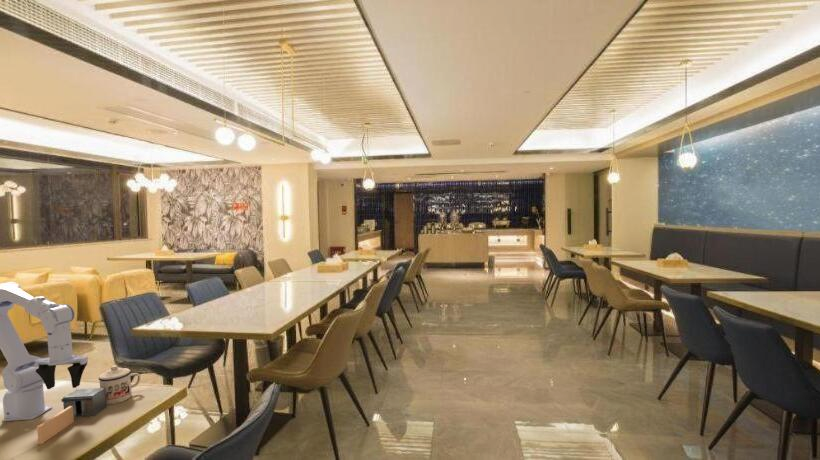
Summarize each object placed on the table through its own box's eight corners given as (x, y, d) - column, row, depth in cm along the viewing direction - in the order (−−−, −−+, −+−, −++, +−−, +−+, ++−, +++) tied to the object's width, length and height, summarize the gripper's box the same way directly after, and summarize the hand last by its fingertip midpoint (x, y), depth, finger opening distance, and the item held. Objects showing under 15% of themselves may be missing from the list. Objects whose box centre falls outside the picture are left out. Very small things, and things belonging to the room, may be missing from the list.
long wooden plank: (38, 443, 117) (36, 426, 117) (70, 422, 129) (69, 406, 129) (42, 443, 117) (40, 426, 117) (74, 421, 129) (72, 406, 129)
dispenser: (63, 418, 131) (61, 398, 131) (78, 408, 138) (76, 389, 138) (92, 417, 132) (91, 396, 131) (106, 407, 138) (105, 387, 138)
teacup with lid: (104, 408, 138) (101, 373, 137) (97, 400, 144) (94, 367, 143) (145, 394, 147) (143, 362, 146) (137, 388, 153) (135, 356, 152)
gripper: (24, 350, 126) (28, 394, 127) (74, 347, 127) (78, 391, 128) (43, 342, 133) (47, 384, 134) (91, 340, 134) (94, 381, 135)
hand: (63, 387), depth 131 cm, fingers open, 7 cm apart
